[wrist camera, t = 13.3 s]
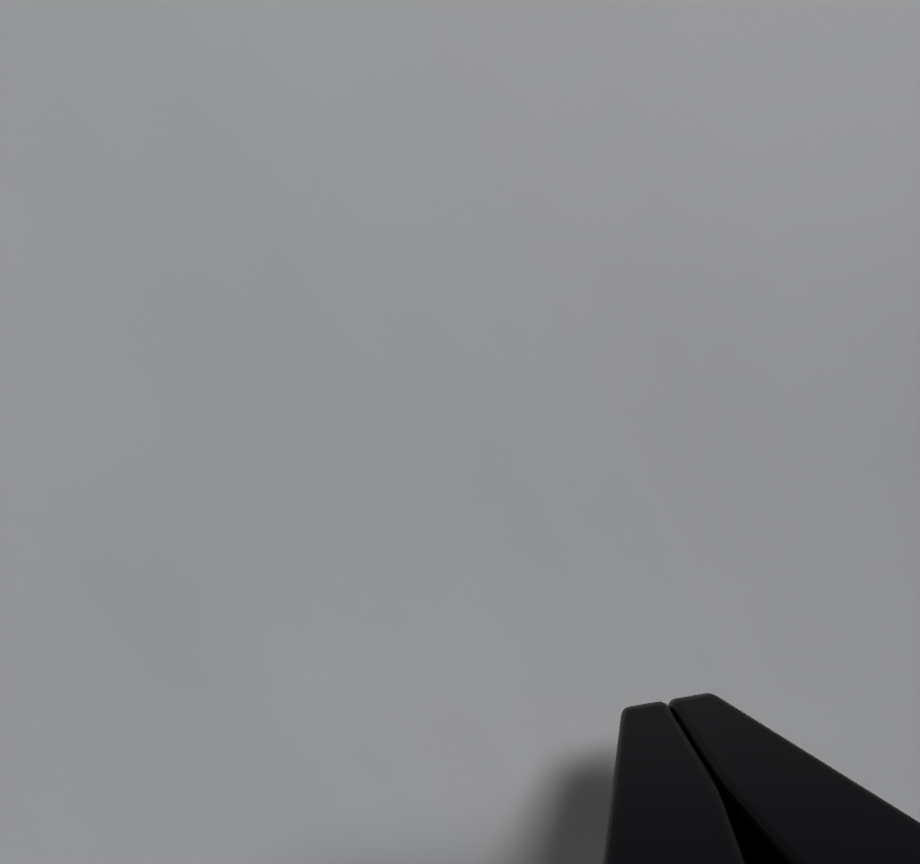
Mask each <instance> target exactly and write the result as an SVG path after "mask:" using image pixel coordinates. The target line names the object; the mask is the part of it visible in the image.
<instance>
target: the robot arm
mask: <svg viewBox="0 0 920 864" xmlns="http://www.w3.org/2000/svg"><path fill="white" fill-rule="evenodd" d="M603 864H920V823H919V822H918V821H916V820H915V819H913V818H911V817H910V816H908V815H907V814H905V813H903V812H902V811H900V810H899V809H897V808H895V807H894V806H892V805H891V804H889V803H887V802H886V801H884V800H883V799H881V798H879V797H878V796H876V795H875V794H873V793H871V792H870V791H868V790H867V789H865V788H863V787H862V786H860V785H859V784H857V783H855V782H854V781H852V780H851V779H849V778H847V777H846V776H844V775H843V774H841V773H839V772H838V771H836V770H835V769H833V768H831V767H830V766H828V765H827V764H825V763H823V762H822V761H820V760H819V759H817V758H815V757H814V756H812V755H811V754H809V753H807V752H806V751H804V750H803V749H801V748H799V747H798V746H796V745H794V744H793V743H791V742H790V741H788V740H786V739H785V738H783V737H782V736H780V735H778V734H777V733H775V732H774V731H772V730H770V729H769V728H767V727H766V726H764V725H762V724H761V723H759V722H758V721H756V720H754V719H753V718H751V717H750V716H748V715H746V714H745V713H743V712H742V711H740V710H738V709H737V708H735V707H734V706H732V705H730V704H729V703H727V702H726V701H724V700H722V699H721V698H719V697H718V696H716V695H713V694H710V693H705V694H699V695H693V696H688V697H682V698H676V699H673V700H671V701H670V703H669V705H667V704H665V703H663V702H654V703H648V704H642V705H636V706H631V707H627V708H625V709H624V710H623V712H622V714H621V721H620V729H619V737H618V745H617V753H616V761H615V769H614V777H613V785H612V793H611V801H610V808H609V816H608V824H607V832H606V840H605V848H604V856H603Z"/></svg>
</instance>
